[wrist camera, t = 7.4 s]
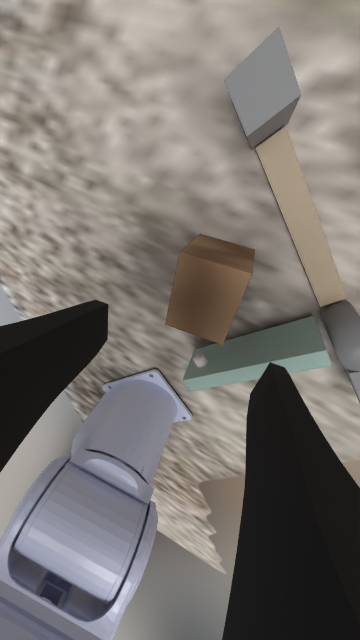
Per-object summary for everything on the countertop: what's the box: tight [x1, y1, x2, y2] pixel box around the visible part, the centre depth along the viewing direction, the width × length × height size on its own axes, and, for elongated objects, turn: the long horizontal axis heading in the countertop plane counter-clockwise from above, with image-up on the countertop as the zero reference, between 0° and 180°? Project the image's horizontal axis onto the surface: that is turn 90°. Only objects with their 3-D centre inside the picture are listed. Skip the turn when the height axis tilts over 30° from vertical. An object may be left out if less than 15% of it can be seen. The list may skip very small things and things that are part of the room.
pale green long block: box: [183, 316, 332, 391], centre depth 17 cm, size 10×3×4 cm, turn 121°
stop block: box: [165, 234, 255, 345], centre depth 15 cm, size 4×5×5 cm
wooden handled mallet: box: [224, 27, 360, 403], centre depth 13 cm, size 2×21×5 cm, turn 33°
